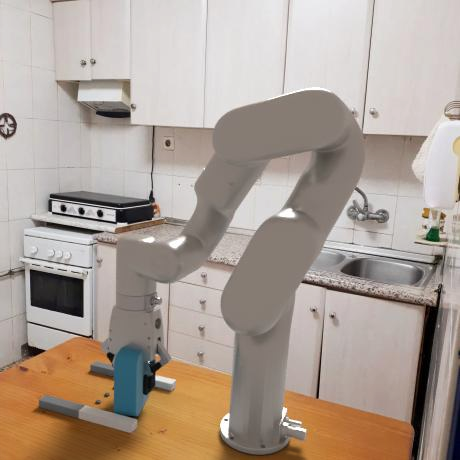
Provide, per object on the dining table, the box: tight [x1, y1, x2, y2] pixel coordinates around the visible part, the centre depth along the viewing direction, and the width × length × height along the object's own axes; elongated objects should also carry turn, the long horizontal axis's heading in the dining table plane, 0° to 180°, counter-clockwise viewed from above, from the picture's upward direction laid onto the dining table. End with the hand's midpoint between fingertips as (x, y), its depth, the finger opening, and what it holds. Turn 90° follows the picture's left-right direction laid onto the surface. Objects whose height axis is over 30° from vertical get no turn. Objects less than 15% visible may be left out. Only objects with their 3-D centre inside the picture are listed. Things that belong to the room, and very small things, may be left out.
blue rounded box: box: [113, 348, 151, 417], centre depth 90 cm, size 12×4×12 cm, turn 176°
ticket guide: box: [38, 360, 177, 434], centre depth 92 cm, size 20×18×2 cm
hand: (134, 387), depth 90 cm, fingers closed on blue rounded box, 5 cm apart
